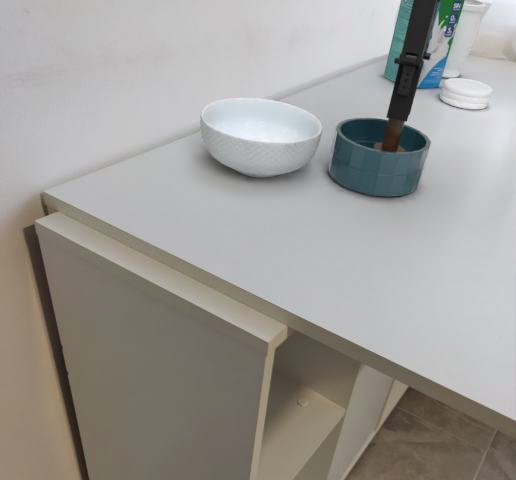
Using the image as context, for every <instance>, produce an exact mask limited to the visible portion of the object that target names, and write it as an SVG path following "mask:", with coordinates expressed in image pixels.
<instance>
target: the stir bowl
mask: <svg viewBox="0 0 516 480" xmlns="http://www.w3.org/2000/svg"><path fill="white" fill-rule="evenodd" d="M387 123H388V119H383V118H377V117H376V118H375V117H354V118H348V119H343V121H340V122H338V124H337V125H336V126H335V129H334V133H333V134H334V135H333V139H332V144H331V145H332V146H331V152H330V156H329V162H328V174H329V176H331V178H332V179H333V180H334V181H335V182H337V183H338V184H339V185H341V186H343V187H344V188H348V189H349V190H352V191H355V192H357V193H359V194H364V195H368V196H374V197H401V196H405V195H408V194H411V193H412V192H414V191H415V190H416V189H418V186H419V184H420V181H421V180H420V179H421V176H422V173H423V170H424V167H425V164H426V160H427V157H428V154H429V150H430V146H431V144H432V141H431V140H430V138H429V136H427V135H426V134H425V133H423V132H422V131H420V130H419V129H417V128H414V127H412V126H410V125H408V124H404V126H403V130H402V134H401V138H400V141H399V146H401V147H402V148H404V150H405V152H389V151H381V150H377V149H373V147H374V145H375V144H376V143H380V142H383V139H384V135H385V131H386V127H387Z"/></svg>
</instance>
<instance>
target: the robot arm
mask: <svg viewBox="0 0 516 480" xmlns="http://www.w3.org/2000/svg"><path fill="white" fill-rule="evenodd" d="M440 1H441V0H414V1H413V5H412V9H411V14H410V18H409V22H408V27H407V31H406V35H405V40H404V44H403V48H402V53H401V54H400V57H399V58H395V60H394V63H395V64H399V67H398V71H397V76H396V80H395V82H394V84H393V89H392V93H391V96H390V101H389V105H388V110H387V114H386V119H389V118H391V119H396V120H401V121H405V122H406V123H407V122H408V119H409V116H410V114H411V111H412V108H413V104H414V101H415V96H416V93H417V89H418V88H417V86H418V82H419V78H420V74H421V71H422V67H423V63H424V61H423V59H424V60H430V56H431V54H430V53H427V52H426V50H427V48H428V47H429V39H430V35H431V33H430V34H429V32H430V28H431V25H432V21H433V22H434V20H435V17H436V13H437V9H438V6H439V2H440ZM431 32H432V31H431Z"/></svg>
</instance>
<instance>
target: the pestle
mask: <svg viewBox="0 0 516 480" xmlns="http://www.w3.org/2000/svg"><path fill="white" fill-rule="evenodd" d="M433 24H434V22H433V21H432V25H431V28H430V32H429V34H430V33H431V31H432V29H433ZM387 120H388V123H387V127H386V131H385V135H384V139H383V142H380V143H376V144H375V145H374V147H373V149H377V150H381V151H389V152H405V150H404V148H402V147H401V146H399V141H400V138H401V134H402V130H403V126H404V125H405V122H406V121H401V120H396V119H391V118H387Z"/></svg>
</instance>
